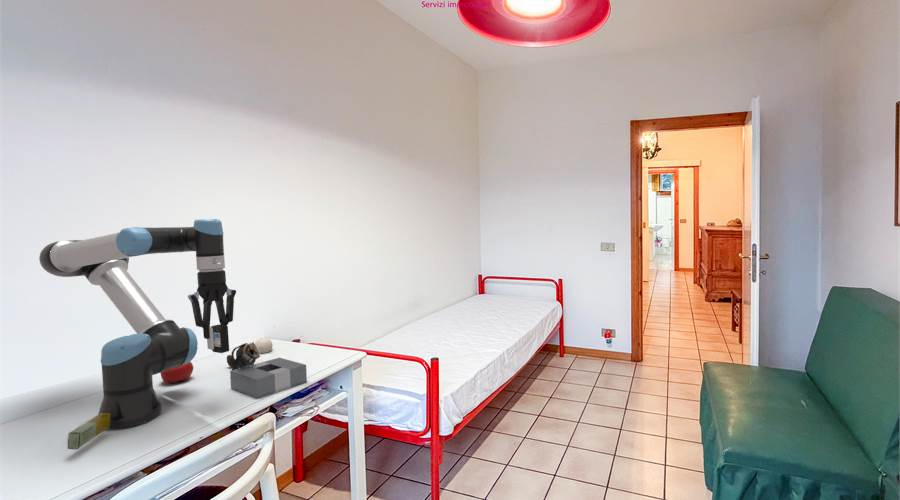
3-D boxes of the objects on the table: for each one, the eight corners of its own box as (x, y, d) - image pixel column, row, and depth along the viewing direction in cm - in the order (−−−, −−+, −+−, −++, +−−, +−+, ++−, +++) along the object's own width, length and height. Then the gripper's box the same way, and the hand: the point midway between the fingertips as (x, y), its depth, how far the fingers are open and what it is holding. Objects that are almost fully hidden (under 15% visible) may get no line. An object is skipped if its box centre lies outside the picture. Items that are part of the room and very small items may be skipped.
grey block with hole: (257, 398, 140) (256, 379, 139) (231, 388, 149) (230, 370, 149) (306, 382, 154) (306, 364, 154) (280, 373, 164) (279, 357, 163)
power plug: (235, 374, 163) (248, 347, 160) (250, 386, 161) (263, 359, 158) (223, 378, 158) (236, 351, 155) (237, 391, 156) (251, 364, 153)
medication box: (78, 449, 110) (78, 433, 109) (66, 449, 109) (66, 433, 109) (110, 426, 121) (111, 412, 121) (99, 426, 121) (100, 412, 121)
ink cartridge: (211, 352, 136) (210, 325, 135) (218, 350, 138) (217, 324, 137) (222, 353, 133) (220, 326, 133) (229, 351, 135) (227, 325, 135)
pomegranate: (199, 377, 162) (198, 351, 162) (171, 386, 153) (170, 359, 153) (182, 373, 167) (181, 348, 166) (154, 382, 158) (153, 356, 158)
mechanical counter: (253, 371, 167) (252, 345, 166) (219, 372, 167) (217, 345, 166) (261, 366, 174) (260, 340, 173) (229, 366, 174) (227, 341, 174)
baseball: (251, 354, 191) (250, 338, 191) (267, 350, 197) (266, 335, 196) (259, 357, 187) (258, 341, 186) (275, 353, 192) (274, 337, 192)
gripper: (188, 273, 127) (193, 355, 128) (242, 268, 139) (247, 343, 140) (178, 272, 132) (183, 351, 133) (231, 267, 144) (236, 340, 145)
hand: (216, 347), depth 137 cm, fingers closed on ink cartridge, 2 cm apart
